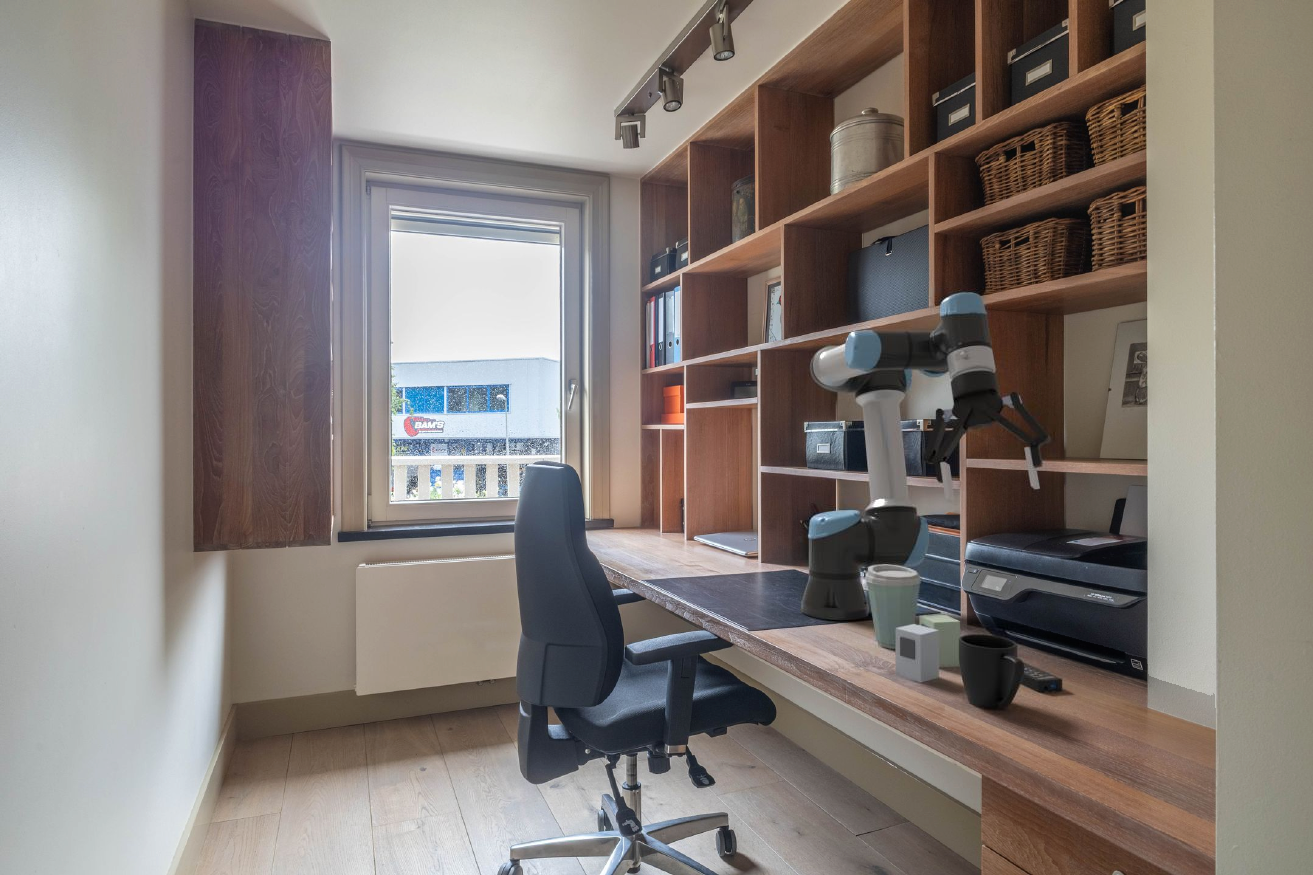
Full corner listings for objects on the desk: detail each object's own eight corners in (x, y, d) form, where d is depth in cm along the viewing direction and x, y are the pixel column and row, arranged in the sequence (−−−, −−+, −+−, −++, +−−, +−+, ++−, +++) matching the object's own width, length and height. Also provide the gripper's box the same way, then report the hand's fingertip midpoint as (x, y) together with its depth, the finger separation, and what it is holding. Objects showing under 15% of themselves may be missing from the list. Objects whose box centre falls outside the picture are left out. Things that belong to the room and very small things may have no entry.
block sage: (918, 659, 134) (918, 615, 134) (944, 657, 135) (944, 614, 135) (932, 667, 129) (932, 622, 129) (959, 666, 130) (960, 621, 130)
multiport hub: (1016, 671, 128) (1016, 658, 128) (1063, 693, 117) (1063, 678, 117) (994, 673, 127) (994, 660, 127) (1039, 695, 116) (1040, 681, 116)
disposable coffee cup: (934, 648, 141) (934, 570, 141) (892, 656, 136) (892, 575, 136) (893, 634, 150) (893, 562, 150) (852, 641, 145) (852, 566, 145)
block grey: (894, 674, 125) (894, 628, 125) (914, 669, 128) (914, 623, 128) (919, 683, 121) (919, 634, 121) (939, 677, 124) (939, 630, 124)
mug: (991, 724, 104) (991, 657, 104) (948, 694, 116) (948, 634, 116) (1045, 721, 105) (1045, 655, 105) (997, 692, 117) (997, 632, 117)
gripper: (896, 387, 134) (909, 501, 127) (1045, 350, 119) (1069, 476, 113) (910, 399, 139) (924, 508, 133) (1055, 365, 125) (1079, 486, 118)
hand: (991, 494), depth 123 cm, fingers open, 13 cm apart
